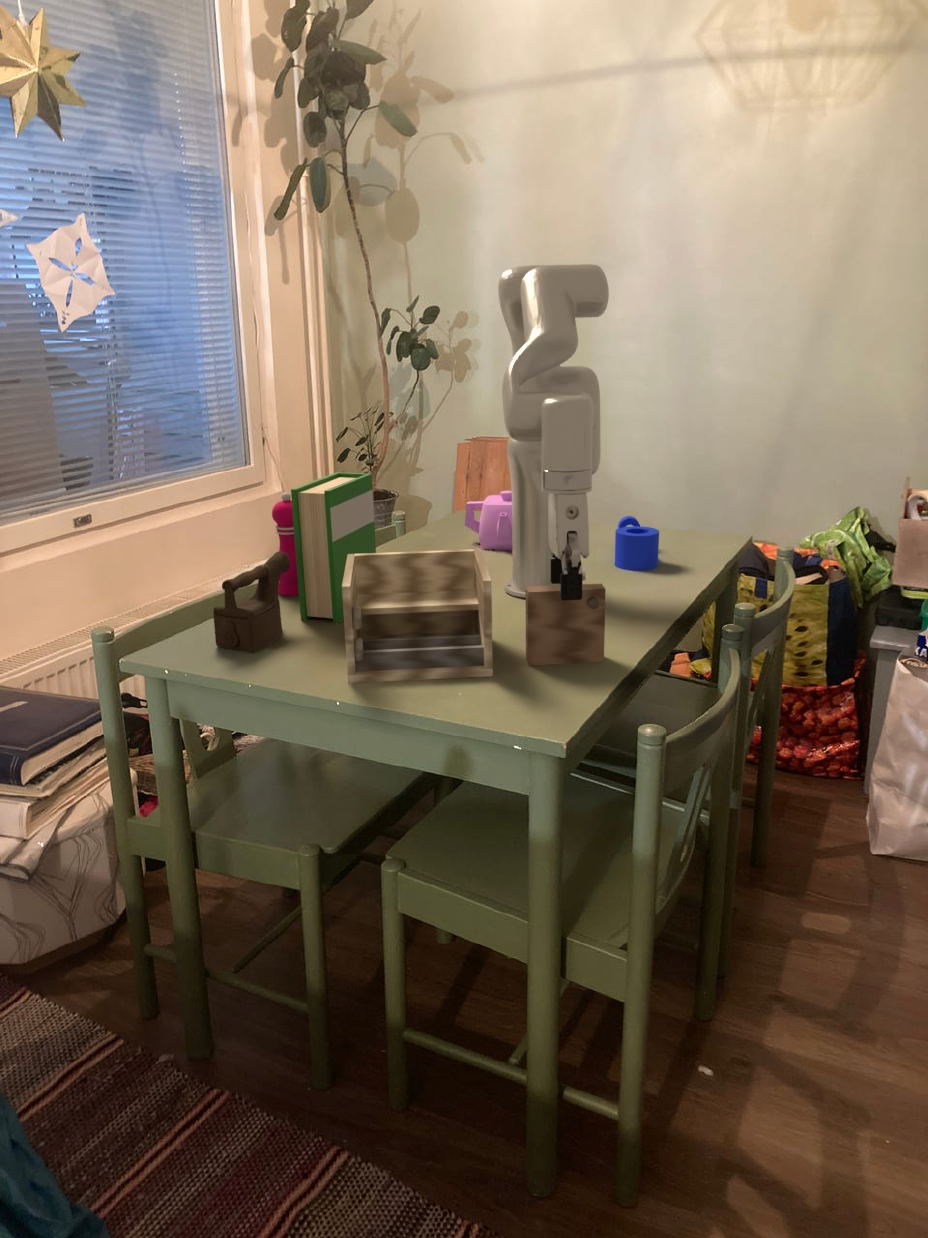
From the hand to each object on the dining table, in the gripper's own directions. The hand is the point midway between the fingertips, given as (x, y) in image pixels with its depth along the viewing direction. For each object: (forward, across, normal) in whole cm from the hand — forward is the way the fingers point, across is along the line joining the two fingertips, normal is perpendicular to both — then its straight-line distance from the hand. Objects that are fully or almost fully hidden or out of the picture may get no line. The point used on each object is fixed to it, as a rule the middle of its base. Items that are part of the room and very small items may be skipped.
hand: (565, 591), depth 151 cm
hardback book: (+11, +34, +37) cm, 51 cm away
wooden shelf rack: (+12, +5, +23) cm, 26 cm away
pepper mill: (+11, +46, +47) cm, 67 cm away
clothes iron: (+11, +18, +50) cm, 54 cm away
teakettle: (+10, +79, 0) cm, 80 cm away
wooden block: (+12, +1, 0) cm, 12 cm away
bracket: (+10, +61, -25) cm, 67 cm away
